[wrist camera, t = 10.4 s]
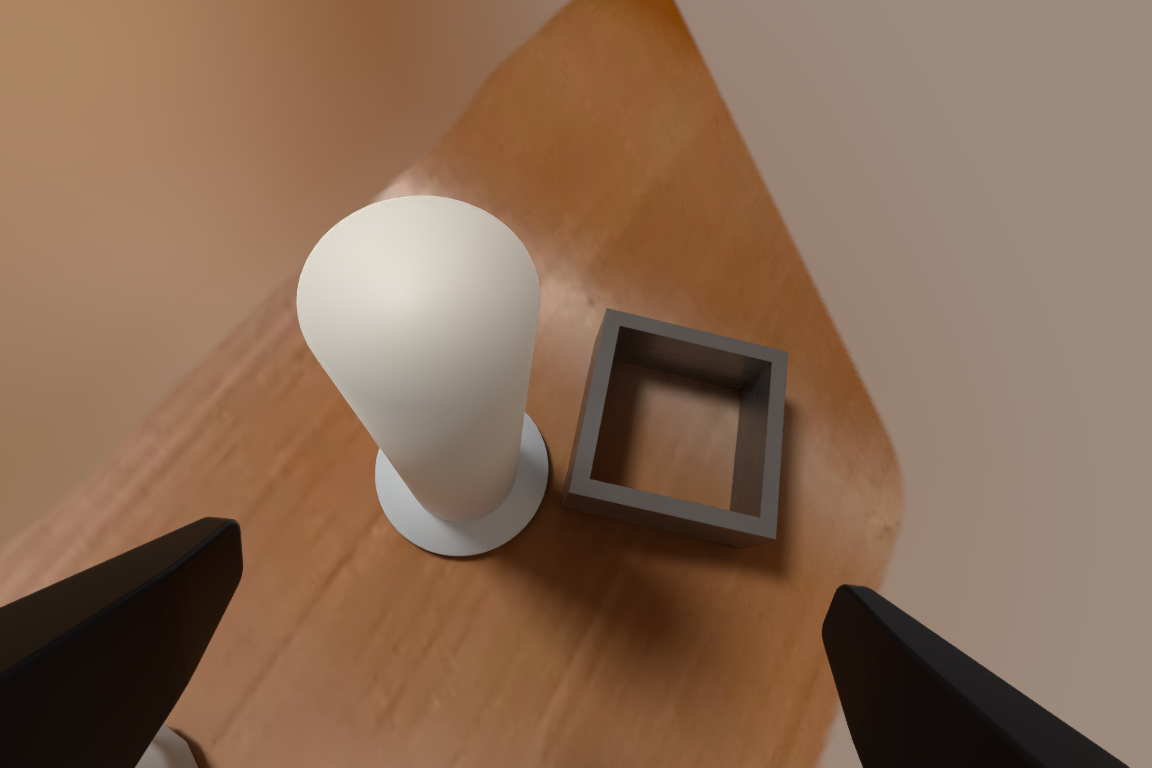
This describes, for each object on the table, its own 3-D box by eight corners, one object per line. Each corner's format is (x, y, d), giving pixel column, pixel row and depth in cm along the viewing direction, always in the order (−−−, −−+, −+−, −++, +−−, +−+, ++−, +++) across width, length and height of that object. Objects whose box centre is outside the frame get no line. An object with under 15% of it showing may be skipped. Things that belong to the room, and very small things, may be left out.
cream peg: (524, 512, 22) (558, 385, 10) (413, 530, 21) (299, 419, 9) (508, 410, 23) (521, 188, 11) (404, 425, 22) (294, 203, 10)
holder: (741, 548, 22) (775, 539, 20) (560, 507, 22) (568, 492, 19) (756, 380, 25) (787, 351, 22) (594, 342, 25) (606, 308, 22)
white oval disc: (526, 573, 21) (527, 572, 21) (352, 535, 21) (350, 533, 21) (562, 411, 24) (563, 408, 23) (407, 375, 23) (406, 371, 23)
